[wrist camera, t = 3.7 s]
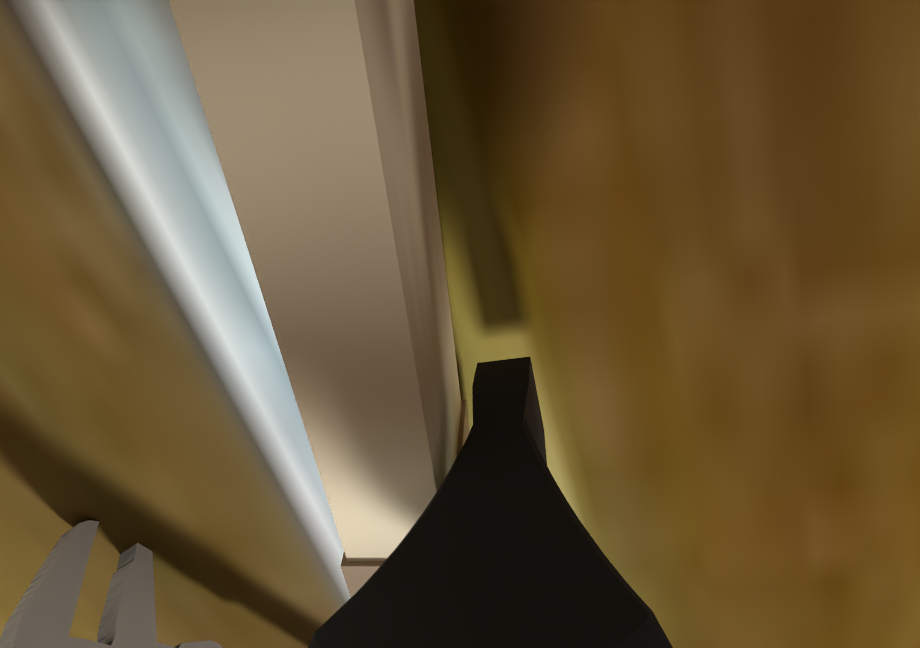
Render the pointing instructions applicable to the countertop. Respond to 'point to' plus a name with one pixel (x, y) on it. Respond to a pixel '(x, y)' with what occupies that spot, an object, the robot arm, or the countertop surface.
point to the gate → (341, 241)
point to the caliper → (57, 590)
